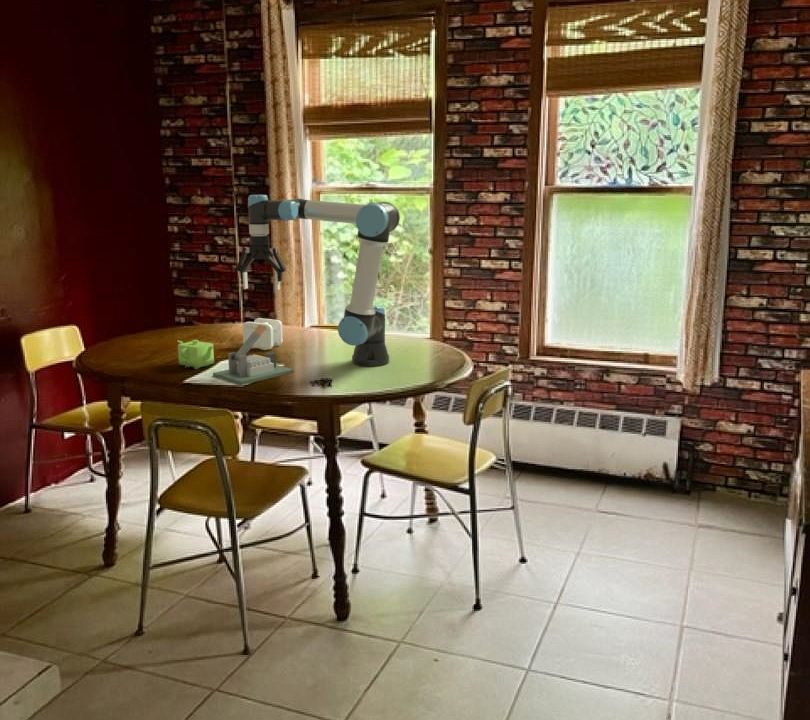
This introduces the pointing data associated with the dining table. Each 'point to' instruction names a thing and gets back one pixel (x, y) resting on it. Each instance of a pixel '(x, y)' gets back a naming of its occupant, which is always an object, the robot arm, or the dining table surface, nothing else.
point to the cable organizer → (264, 333)
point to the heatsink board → (253, 378)
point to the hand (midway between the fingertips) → (261, 289)
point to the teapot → (195, 354)
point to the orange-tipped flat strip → (249, 342)
